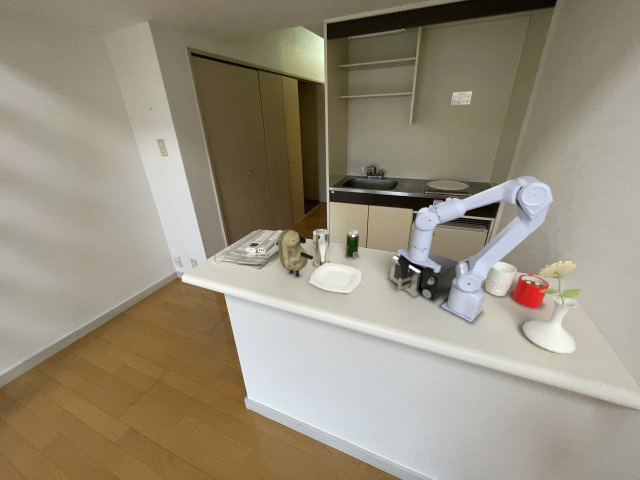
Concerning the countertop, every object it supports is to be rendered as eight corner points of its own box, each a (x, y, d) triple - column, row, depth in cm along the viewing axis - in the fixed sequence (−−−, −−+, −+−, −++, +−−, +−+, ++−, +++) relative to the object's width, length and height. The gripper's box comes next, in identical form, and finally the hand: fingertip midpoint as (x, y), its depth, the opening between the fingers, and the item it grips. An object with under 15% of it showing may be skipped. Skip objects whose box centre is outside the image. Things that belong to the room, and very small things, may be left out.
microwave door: (403, 300, 88) (406, 276, 84) (379, 282, 98) (381, 260, 94) (417, 295, 91) (421, 271, 87) (392, 277, 101) (395, 256, 97)
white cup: (482, 282, 98) (489, 259, 94) (507, 288, 94) (516, 264, 90) (482, 292, 92) (489, 269, 88) (508, 299, 88) (518, 275, 84)
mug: (535, 290, 93) (543, 272, 90) (543, 310, 83) (552, 290, 80) (509, 285, 96) (515, 266, 93) (513, 303, 87) (521, 283, 83)
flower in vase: (563, 332, 74) (602, 256, 64) (581, 363, 65) (630, 280, 54) (510, 320, 79) (538, 248, 69) (519, 347, 70) (553, 268, 59)
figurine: (322, 276, 102) (322, 230, 94) (301, 290, 94) (298, 241, 86) (289, 261, 114) (286, 219, 105) (267, 272, 106) (262, 227, 97)
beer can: (360, 256, 117) (361, 232, 112) (351, 260, 114) (353, 235, 109) (351, 252, 121) (352, 229, 116) (343, 255, 118) (344, 232, 113)
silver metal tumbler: (332, 262, 113) (332, 230, 107) (323, 269, 108) (323, 236, 101) (318, 258, 116) (318, 227, 110) (310, 264, 111) (309, 232, 105)
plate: (366, 273, 104) (367, 269, 103) (351, 301, 88) (351, 296, 87) (323, 264, 111) (323, 260, 111) (302, 287, 96) (302, 283, 95)
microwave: (432, 302, 87) (437, 277, 83) (388, 279, 100) (391, 257, 96) (453, 285, 96) (459, 262, 92) (411, 267, 109) (414, 245, 104)
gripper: (449, 250, 79) (439, 286, 84) (408, 235, 89) (402, 268, 94) (437, 257, 75) (428, 295, 80) (395, 240, 85) (390, 275, 90)
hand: (413, 281), depth 87 cm, fingers open, 7 cm apart
